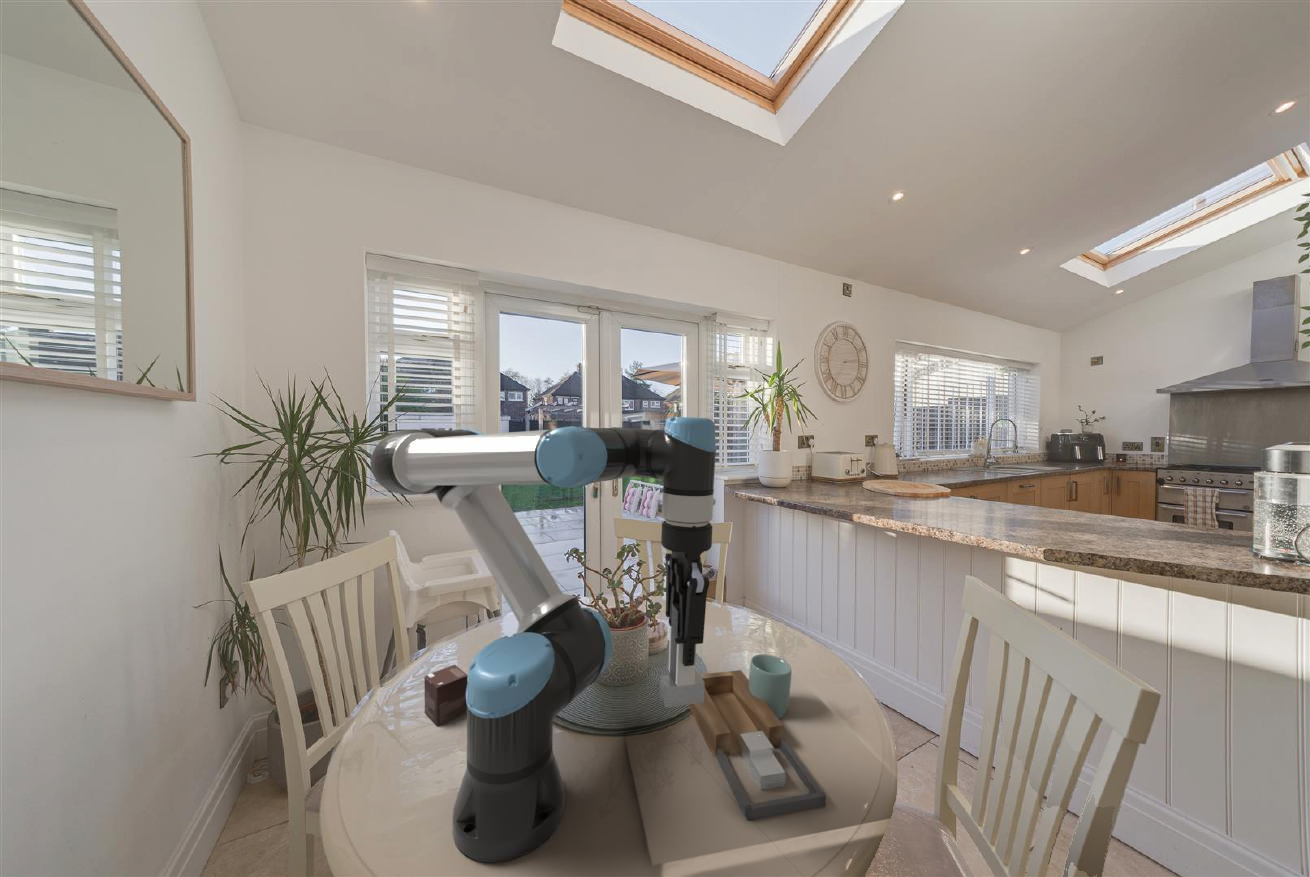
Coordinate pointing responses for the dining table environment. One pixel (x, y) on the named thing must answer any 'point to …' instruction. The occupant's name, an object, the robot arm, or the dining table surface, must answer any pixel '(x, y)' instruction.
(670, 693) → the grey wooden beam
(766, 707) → the slot board
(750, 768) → the chip front
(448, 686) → the box
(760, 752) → the block
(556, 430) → the robot arm
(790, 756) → the tray
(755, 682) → the cup
